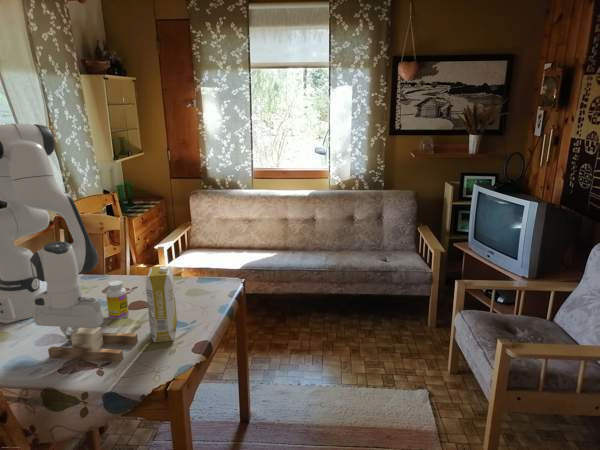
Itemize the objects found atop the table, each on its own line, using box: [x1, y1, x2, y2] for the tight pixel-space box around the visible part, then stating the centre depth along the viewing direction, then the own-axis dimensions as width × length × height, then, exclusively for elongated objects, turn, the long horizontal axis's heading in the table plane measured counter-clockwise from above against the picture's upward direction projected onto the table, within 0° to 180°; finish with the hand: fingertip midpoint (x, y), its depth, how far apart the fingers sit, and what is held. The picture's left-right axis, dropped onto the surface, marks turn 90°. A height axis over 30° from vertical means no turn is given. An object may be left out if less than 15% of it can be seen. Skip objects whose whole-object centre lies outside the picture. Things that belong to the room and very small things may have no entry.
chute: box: [47, 330, 139, 363], centre depth 132 cm, size 22×11×4 cm, turn 84°
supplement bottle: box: [105, 280, 129, 319], centre depth 155 cm, size 7×7×13 cm
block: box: [71, 326, 105, 349], centre depth 132 cm, size 6×6×6 cm
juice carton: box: [145, 265, 178, 343], centre depth 139 cm, size 9×8×24 cm
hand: (71, 338), depth 132 cm, fingers closed
